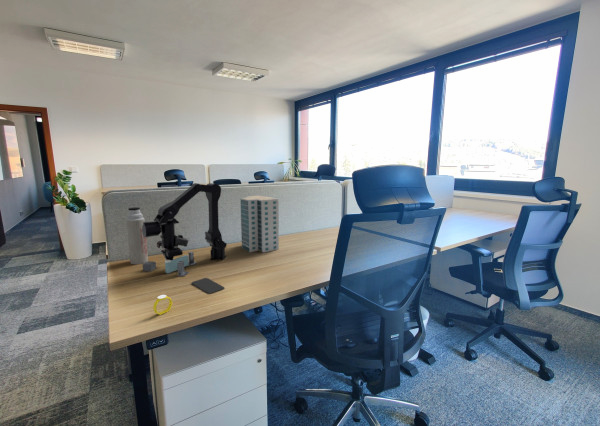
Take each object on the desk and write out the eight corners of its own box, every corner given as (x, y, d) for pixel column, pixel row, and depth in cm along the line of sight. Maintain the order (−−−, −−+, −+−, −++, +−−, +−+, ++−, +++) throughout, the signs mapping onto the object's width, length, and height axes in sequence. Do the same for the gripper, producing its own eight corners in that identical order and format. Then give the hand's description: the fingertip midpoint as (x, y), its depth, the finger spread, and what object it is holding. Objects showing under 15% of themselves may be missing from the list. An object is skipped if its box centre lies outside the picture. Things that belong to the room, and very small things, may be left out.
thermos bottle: (151, 259, 149) (147, 206, 144) (140, 264, 141) (135, 209, 137) (138, 258, 151) (133, 206, 146) (126, 263, 143) (120, 208, 138)
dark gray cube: (156, 268, 137) (155, 261, 136) (151, 271, 133) (150, 264, 133) (148, 268, 137) (147, 261, 137) (143, 271, 134) (142, 264, 133)
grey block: (188, 272, 132) (188, 260, 131) (184, 276, 127) (183, 263, 126) (182, 272, 132) (181, 260, 131) (177, 276, 128) (176, 263, 127)
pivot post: (197, 262, 145) (197, 251, 144) (193, 265, 141) (193, 254, 140) (189, 262, 146) (188, 250, 144) (185, 265, 141) (184, 253, 140)
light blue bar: (188, 265, 140) (188, 253, 139) (168, 273, 130) (167, 261, 129) (186, 264, 141) (185, 253, 140) (165, 272, 131) (164, 260, 130)
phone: (209, 293, 110) (190, 282, 120) (209, 295, 110) (190, 284, 120) (225, 287, 115) (206, 277, 125) (225, 289, 116) (206, 279, 125)
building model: (238, 245, 175) (236, 197, 170) (261, 241, 185) (260, 195, 179) (254, 254, 159) (252, 201, 154) (278, 249, 169) (278, 198, 163)
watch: (157, 318, 94) (155, 302, 92) (153, 315, 95) (150, 299, 94) (174, 309, 99) (172, 293, 97) (169, 307, 100) (167, 291, 99)
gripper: (193, 235, 130) (194, 267, 133) (179, 226, 144) (181, 256, 147) (167, 239, 123) (169, 273, 126) (155, 230, 137) (157, 260, 140)
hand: (170, 265), depth 135 cm, fingers closed
